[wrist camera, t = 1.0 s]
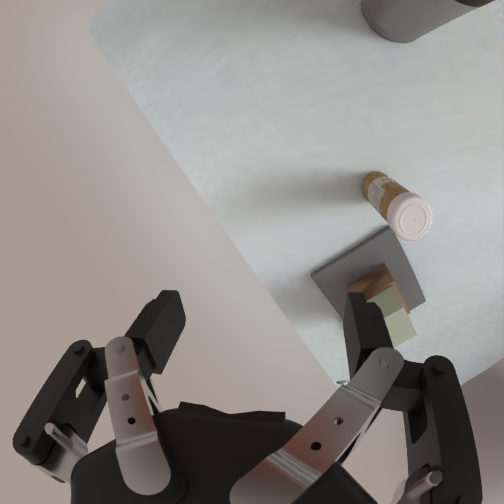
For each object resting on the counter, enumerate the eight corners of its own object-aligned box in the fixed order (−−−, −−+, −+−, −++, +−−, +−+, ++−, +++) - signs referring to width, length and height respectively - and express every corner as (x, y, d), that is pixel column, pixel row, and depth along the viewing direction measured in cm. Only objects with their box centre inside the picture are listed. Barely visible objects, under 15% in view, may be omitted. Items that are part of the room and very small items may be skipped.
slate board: (389, 224, 37) (391, 227, 36) (423, 297, 41) (425, 300, 40) (311, 273, 42) (311, 277, 41) (356, 336, 46) (357, 339, 45)
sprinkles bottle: (394, 176, 34) (439, 204, 22) (385, 206, 36) (424, 246, 24) (364, 166, 34) (401, 191, 22) (356, 198, 36) (386, 236, 24)
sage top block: (392, 285, 34) (403, 306, 30) (406, 312, 36) (416, 334, 32) (355, 306, 37) (362, 330, 32) (372, 331, 38) (378, 355, 34)
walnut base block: (384, 263, 38) (394, 280, 34) (400, 294, 40) (410, 312, 36) (345, 286, 41) (351, 305, 37) (364, 315, 43) (370, 335, 38)
